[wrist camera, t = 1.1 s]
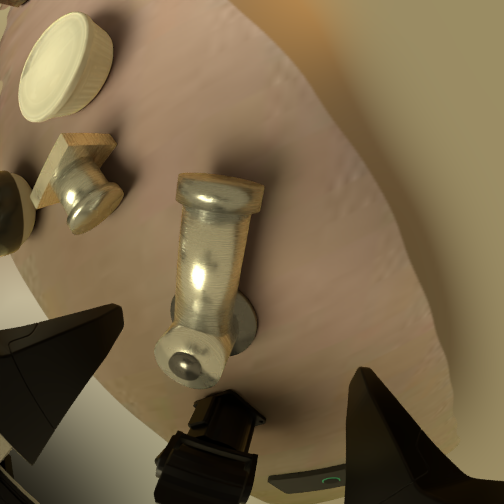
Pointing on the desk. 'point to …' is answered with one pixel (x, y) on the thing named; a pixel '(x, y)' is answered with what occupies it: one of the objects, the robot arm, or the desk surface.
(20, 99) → the ramekin
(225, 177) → the elbow
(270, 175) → the desk surface
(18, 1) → the candle
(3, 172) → the black egg-shaped dome
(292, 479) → the smart home device
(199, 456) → the robot arm
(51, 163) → the metal pipe fitting
